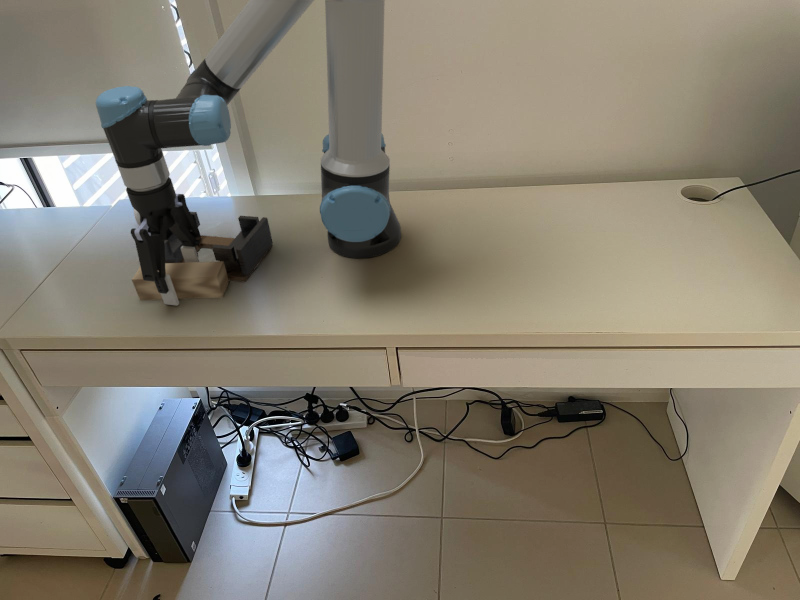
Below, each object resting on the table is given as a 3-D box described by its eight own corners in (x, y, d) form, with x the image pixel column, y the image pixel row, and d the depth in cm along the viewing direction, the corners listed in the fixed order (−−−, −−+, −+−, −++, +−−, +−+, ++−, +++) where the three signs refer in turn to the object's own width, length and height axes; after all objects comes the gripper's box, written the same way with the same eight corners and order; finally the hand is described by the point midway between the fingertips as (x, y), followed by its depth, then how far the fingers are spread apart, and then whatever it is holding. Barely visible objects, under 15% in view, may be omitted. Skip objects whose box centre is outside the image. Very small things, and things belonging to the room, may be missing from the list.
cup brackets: (274, 245, 133) (268, 216, 129) (247, 281, 123) (239, 251, 119) (181, 237, 138) (172, 209, 134) (148, 271, 128) (137, 241, 124)
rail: (229, 282, 124) (223, 261, 121) (222, 298, 120) (216, 276, 117) (149, 285, 125) (141, 264, 122) (140, 301, 121) (131, 279, 118)
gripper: (162, 154, 118) (195, 256, 131) (90, 211, 101) (136, 321, 115) (198, 155, 116) (227, 259, 129) (130, 214, 100) (172, 326, 113)
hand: (184, 288), depth 122 cm, fingers open, 8 cm apart
